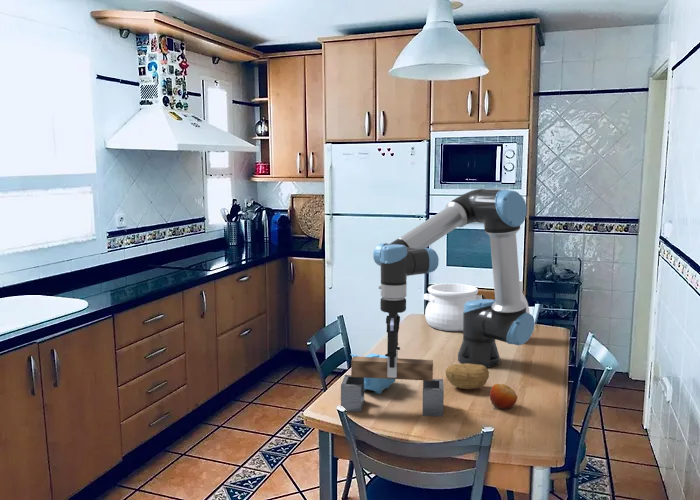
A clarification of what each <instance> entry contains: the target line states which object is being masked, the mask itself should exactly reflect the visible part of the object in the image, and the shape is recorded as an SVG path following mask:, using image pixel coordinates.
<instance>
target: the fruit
mask: <svg viewBox="0 0 700 500" xmlns="http://www.w3.org/2000/svg"><path fill="white" fill-rule="evenodd" d="M489 399H490V402H491V404H492V405H493V410H495V409H502V410H510V409H512V408H513V407H514V406H515V404H516V403H517V401H518V395H517V394H516V391H515V390H514V389H513V388H511V387H510V386H509V385H507V384H505V383H495V384H494V385H492V387H491V389H490V392H489Z"/></svg>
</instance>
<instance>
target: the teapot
mask: <svg viewBox="0 0 700 500" xmlns="http://www.w3.org/2000/svg"><path fill="white" fill-rule="evenodd" d="M350 356H351V357H353V356H355V357H359V356H358V355H357V354H354V353H350ZM364 357H377V358H388V356H385V354H378V353H372V352H371V353H369V354H367V355H365V356H364ZM394 383H396V379H385V378H365V377H364V391H367V390H369V391H374V393H375V394H378V395H379V394H380V393H381V394H383V390H385V389H391V385H393V384H394Z"/></svg>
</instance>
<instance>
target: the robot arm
mask: <svg viewBox="0 0 700 500" xmlns="http://www.w3.org/2000/svg"><path fill="white" fill-rule="evenodd" d="M527 211H528V210H527V204H526V201H525V199H524V197H523V196H522V194H520V193H519V192H517V191H515V190H509V189H505V188H504V189H499V188H498V189H491V188H490V189H489V188H488V189H487V188H479V189H474V190H470V191H468V192H466V193H463V194H461V195H459V196H457V197H456V198H454V199H452V200H451V201H449V202H447V203H446V205H445V208H444V209H443V210H442V209H441V211H439V212H438V213H436V214H435V215H433V216H431V217H430V218H428V219H426V220H425V221H423V222H422V223H420V224H419V225H417V226H416V227H414V228H412V229H411V230H409V231H408V232H406V233H405V234H403V235H401V236H400V237H397V239H395V240H393V241H392V242H390V243H387V242H385V243H379V244H377V245H376V247H375V248H374V250H373V254H372V255H373V258H372V259H373V261H374V262H375V264H376V265H378V266H380V285H379V286H378V289H379V290H380V297H381V298H380V304H379V305H380V307H379V308H380V311H381V312H383V313H388V315H386V318H385V324H386V333H387V348H386V349H387V353H385V354H384V355H385V356H388V362H387V377H390V378H397V358H399V357H398V356H399V351H400V350H401V347H400V346H399V330H400V323H401V316H400V315H399V313H400V314H401V313H404V312H406V310H407V299H406V297H407V291H408V290H407V286H408V283H407V277H409V276H415V275H427V274H430V273H433V272H435V271H436V270H437V269H438V267H439V261H440V259H439V256H438V255H439V254H437V252H436V251H435V249H433V248H429V246H431V245H432V244H434V243H436V242H437V241H439V240H440V239H441V238H443V237H444V236H446V235H447V234H449V233H450V232H452V231H454V230H455V229H457V228H464V227H465V226H467V225H469V224H475V223H478V224H479V223H480V224H483V227H484V233H486V234H487V235H488V236H489V241H490V243H489V244H490V252H491V265H492V266H491V267H492V275H493V277H492V278H493V288H494V291H493V292H494V299H490V298H487V299H485V298H482V299H479V300H471V301H468V302H466V303H465V305H464V312H463V331H462V334H463V338H462V342H461V344H460V347H459V351H458V354H457V360H458V363H459V364H466V363H469V364H477V365H483V366H485V367H486V368H493V367H496V366H498V365H499V364H500V353H499V350H498V347H497V343H496V340H497V341H498V342H499V341H500V342H504V343H507V344H508V345H515V346H522V345H524V344H525V343H526V342H528V341H529V339H530V338H531V337H532V335H533V332H534V329H535V323H536V322H535V318H534V316H533V315H532V314H531V313H530V312H529V313H530V314H529V313H527V312H526V304H525V303H524V302H523V301H521V295H520V281H519V280H520V272H519V271H520V269H519V256H518V243H517V233H518V232H519V231H520V230H521V225H523V224H524V222H525V220H526V217H527V214H528V213H527Z"/></svg>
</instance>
